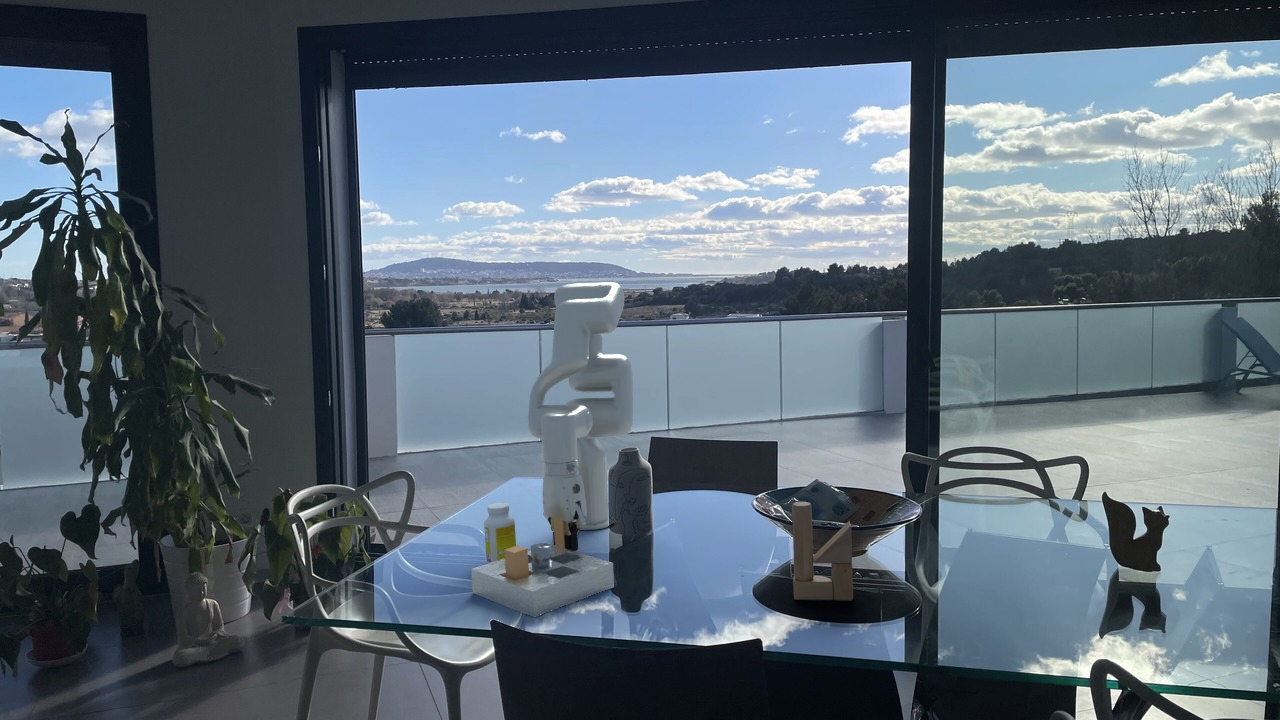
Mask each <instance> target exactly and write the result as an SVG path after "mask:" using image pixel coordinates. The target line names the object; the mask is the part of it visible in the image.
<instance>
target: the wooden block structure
mask: <svg viewBox="0 0 1280 720" xmlns="http://www.w3.org/2000/svg"><path fill="white" fill-rule="evenodd" d="M791 509H792V511H791V512H792V547H793V574H794V575H793V576H792V579H793V580H792V581H793V585H792V586H793V599H794V600H795V601H796V600H797V601H847V602H848V601H849V602H851V601H853V599H854V587H853V585H854V583H853V582H854V580H853V579H854V578H853V577H854V576H853V547H852V543H853V542H852V525H851V521H850V520H848V522H845V524H844V525H843V526H841V528H840V529H839V530H838V531H837V532H836V533H835V534H834V535H833V536H832V537H831V538H830V539H829V540H828V541H826V543H825V544H824V545H823V546H822V547H821V548H820V549H818V550H817V551H816V553H815V554H814V544H813V543H814V542H813V541H814V539H813V538H814V537H813V505H812V504H811V502H807V501H795V502H793V503H792V505H791ZM814 564H831V578H829V577H826V576H823V575H815V573H814V571H815V570H814Z"/></svg>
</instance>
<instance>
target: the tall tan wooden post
mask: <svg viewBox="0 0 1280 720" xmlns="http://www.w3.org/2000/svg"><path fill="white" fill-rule="evenodd" d="M528 551H529V549H528V548H527V547H523V546H520V545H516V546H514V547H511V548H508V549H505V550H504V553H505V569H506V578H509V579H512V580H514V581H515V580H518V579H521V578H524V577H527V576H529V564H528Z"/></svg>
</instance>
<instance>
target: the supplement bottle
mask: <svg viewBox="0 0 1280 720" xmlns="http://www.w3.org/2000/svg"><path fill="white" fill-rule="evenodd" d="M509 511H510V504H509V503H507V502H505V503H504V502H497V503H496V502H495V503H492V504H491V503H490V504H488V505H487V513H488V516H487V517H486V518H485V519H484V522H483V527H484V528H483V529H484V543H485V552H486V553H485V555H486V558H485V559H486V564H488V563H491V562H495V561H498V560H501V559H504V558H505V553H504V550H505V549H508V548H511V547H514V546H517V537H516V535H517V534H516V525H515V523H516V522H515V517H513V515H511V514H509Z"/></svg>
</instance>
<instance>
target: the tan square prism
mask: <svg viewBox="0 0 1280 720" xmlns="http://www.w3.org/2000/svg"><path fill="white" fill-rule="evenodd" d="M553 520H554V531H553V532H554V537H555V546H558V547H561V548H565V537H564V535H567V534H566V529H565V522H564V521H562V520H559V519H555V518H553ZM572 525H573V523H570V527H571V526H572ZM575 552H577V550H576V551H575Z"/></svg>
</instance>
